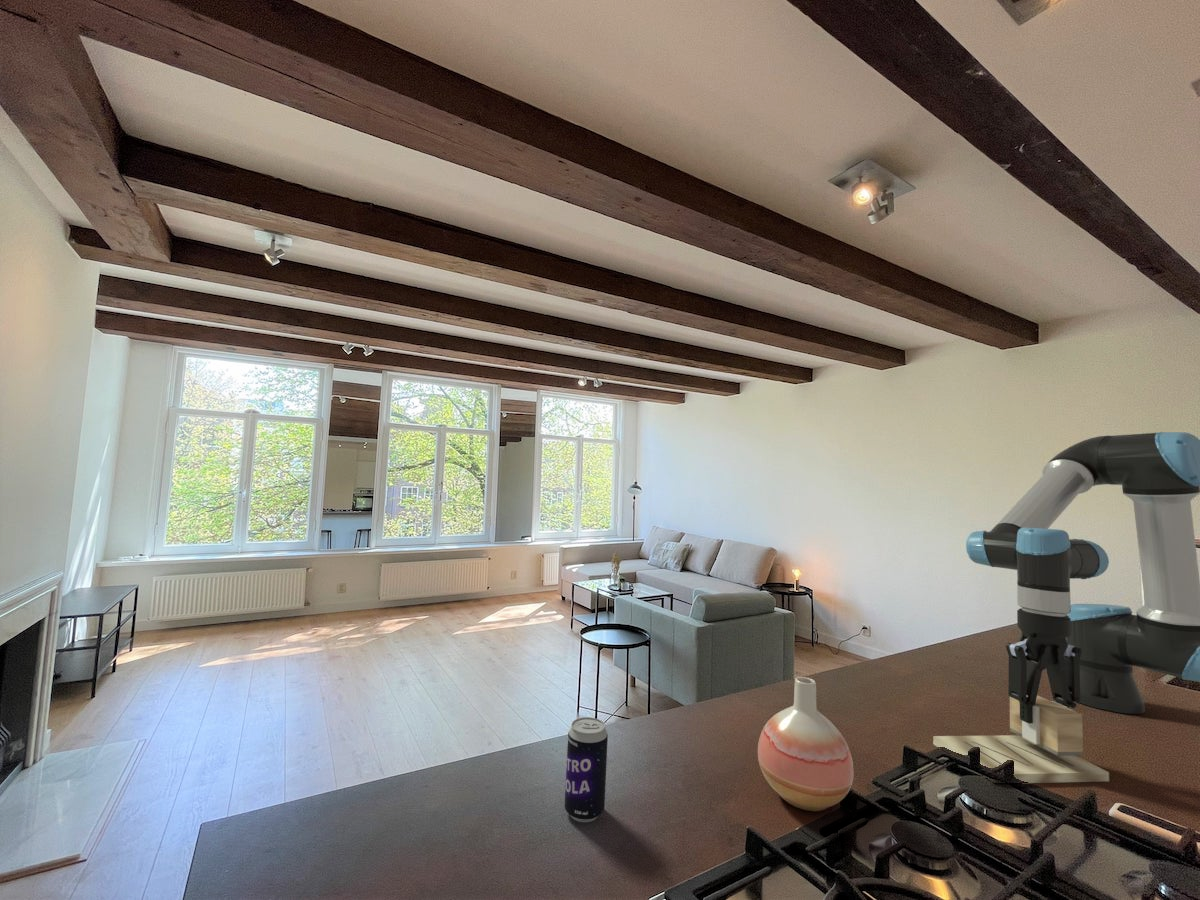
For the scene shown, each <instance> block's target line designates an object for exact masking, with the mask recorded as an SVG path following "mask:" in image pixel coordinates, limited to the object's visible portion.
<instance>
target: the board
mask: <svg viewBox="0 0 1200 900" xmlns="http://www.w3.org/2000/svg"><path fill="white" fill-rule="evenodd" d="M932 741H933V742H932V743H933V745H934V746H935V747H936V748H938V747H945V748H947V749H949V750H951V751H953V752H956V753H959V754H962V755H968V751H969V750H970V749H971V748H973V747H979V748H980V764H981V765H983V766H986V767H988V768H995V767H998V766H999V765H1002V764H1003V763H1004V762H1006V761H1007V760H1013V761H1014V774H1013V775H1014V777H1015V778H1016V779H1019V780H1021V781H1024V782H1028V783H1027V784H1047V783H1048V784H1050V783H1052V784H1053V783H1056V784H1057V783H1093V782H1095V783H1096V782H1097V783H1098V782H1110V772H1109V771H1107V770H1105V769H1103V768H1101V767H1100V766H1097V765H1096V764H1094V763H1091V762H1089V761H1088V760H1085V759H1083V758H1082V757H1079V755H1067V756H1058V755H1056V754H1054V753H1052V752H1050V751H1048V750H1046V749H1044V748H1042V747H1040V746H1038V745H1036V744H1035V743H1033V742H1031V741H1029V740H1027V739H1025V738H1023V737H1021V736H1019V735H1017V734H1016V735H1015V734H1013V735H1012V734H1011V735H1009V734H1008V735H1007V734H1006V735H1004V734H1003V735H934V736H933V740H932Z"/></svg>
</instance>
